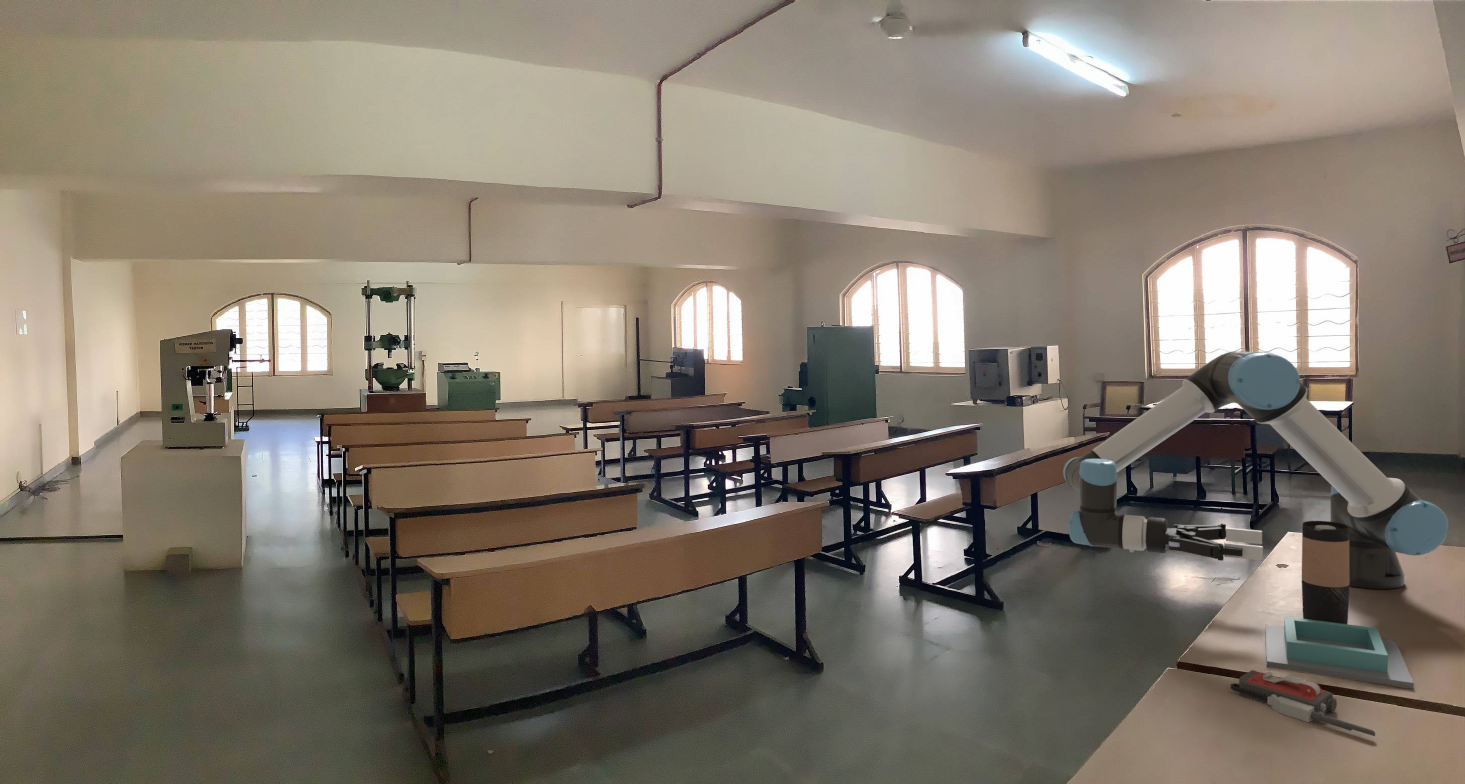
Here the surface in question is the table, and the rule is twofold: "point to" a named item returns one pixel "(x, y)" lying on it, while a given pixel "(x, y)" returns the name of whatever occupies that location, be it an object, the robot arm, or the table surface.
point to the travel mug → (1325, 571)
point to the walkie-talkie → (1293, 698)
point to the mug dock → (1336, 652)
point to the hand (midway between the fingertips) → (1262, 545)
